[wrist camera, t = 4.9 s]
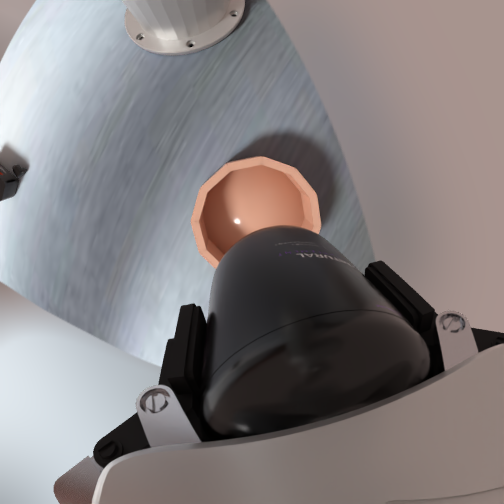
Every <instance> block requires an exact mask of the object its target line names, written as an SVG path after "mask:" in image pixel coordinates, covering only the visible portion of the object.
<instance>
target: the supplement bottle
mask: <svg viewBox="0 0 504 504" xmlns="http://www.w3.org/2000/svg"><path fill="white" fill-rule="evenodd" d="M432 377H434V365H433V359H432V356H431V352H430V350H429V347H428V345H427V343H426V342H425V340H424V339H423V338H422V336H421V335H420V334H419V333H418V331H417V330H416V329H415V327H414V326H413V325H412V324H411V323H410V322H409V321H408V320H407V319H406V318H405V317H404V315H403V314H402V313H401V312H400V311H399V310H398V309H397V308H396V307H395V306H394V305H393V304H392V303H391V302H390V301H389V300H388V299H387V298H386V297H385V296H384V295H383V294H382V293H381V292H380V291H379V290H378V289H377V288H376V287H375V286H374V285H373V284H372V283H371V282H370V281H369V280H368V279H367V278H366V277H365V276H364V275H363V274H362V273H361V272H360V271H359V270H358V269H357V268H356V267H355V266H354V265H353V264H352V263H351V262H350V261H349V260H348V259H347V258H346V257H345V256H344V255H343V254H342V253H341V252H340V251H339V250H337V249H336V248H335V247H334V246H333V245H332V244H331V243H329V242H328V241H327V240H326V239H325V238H323V237H322V236H320V235H319V234H317V233H315V232H313V231H311V230H308V229H306V228H302V227H298V226H292V225H277V226H270V227H266V228H262V229H259V230H256V231H254V232H252V233H250V234H248V235H246V236H244V237H243V238H241V239H240V240H239V241H237V242H236V243H235V244H234V245H233V246H231V248H230V249H229V250H228V251H227V252H226V253H225V255H224V256H223V257H222V259H221V261H220V262H219V264H218V266H217V268H216V271H215V274H214V277H213V281H212V287H211V293H210V301H209V310H208V319H207V328H206V337H205V347H204V358H203V368H202V379H201V391H200V406H199V411H200V412H199V423H200V429H201V433H202V436H203V439H204V441H205V442H211V441H220V440H228V439H235V438H242V437H249V436H255V435H261V434H266V433H271V432H276V431H281V430H286V429H290V428H294V427H299V426H303V425H307V424H311V423H314V422H318V421H322V420H325V419H329V418H332V417H335V416H339V415H342V414H345V413H348V412H351V411H354V410H357V409H360V408H362V407H365V406H368V405H371V404H373V403H376V402H379V401H381V400H384V399H386V398H389V397H391V396H393V395H396V394H398V393H400V392H403V391H405V390H407V389H410V388H412V387H414V386H416V385H418V384H420V383H422V382H424V381H426V380H428V379H430V378H432Z"/></svg>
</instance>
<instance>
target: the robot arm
mask: <svg viewBox="0 0 504 504" xmlns="http://www.w3.org/2000/svg"><path fill="white" fill-rule="evenodd" d="M122 1H123V3H124V4H125V5H126V7H127V9H126V13H125V28H126V31H127V33H128V35H129V37H130V38H131V39H132V40H133V41H134V43H135V44H137V45H138V46H139V47H141V48H142V49H144V50H146V51H148V52H151V53H155V54H159V55H169V56H175V55H185V54H190V53H195V52H198V51H201V50H204V49H207V48H209V47H211V46H213V45H215V44H217V43H218V42H220V41H221V40H223V39H224V38H226V37H227V36H228V35H229V34H230V33H231V32H232V31H233V30H234V29H235V28H236V26H237V25H238V24H239V22H240V20H241V18H242V16H243V13H244V7H245V0H122ZM232 16H236V17H232ZM142 38H143V39H142ZM141 39H142V40H141ZM190 45H194V46H193V47H189V46H190ZM365 277H366V278H367V279H368V280H369V281H370V282H371V283H372V284H373V285H374V286H375V287H376V288H377V289H378V290H379V291H380V292H381V293H382V294H383V295H384V296H385V297H386V298H387V299H388V300H389V301H390V302H391V303H392V304H393V305H394V306H395V307H396V308H397V309H398V310H399V311H400V312H401V313H402V314H403V315H404V317H405V318H406V319H407V320H408V321H409V322H410V323H411V324H412V325H413V326H414V327H415V329H416V330H417V331H418V333H419V334H420V335H421V336H422V338H423V339H424V340H425V342H426V343H427V345H428V347H429V350H430V352H431V356H432V359H433V365H434V377H432V378H430V379H428V380H426V381H424V382H422V383H420V384H418V385H416V386H414V387H412V388H410V389H407V390H405V391H403V392H400V393H398V394H396V395H393V396H391V397H389V398H386V399H384V400H381V401H379V402H376V403H373V404H371V405H368V406H365V407H362V408H360V409H357V410H354V411H351V412H348V413H345V414H342V415H339V416H335V417H332V418H329V419H325V420H322V421H318V422H314V423H311V424H307V425H303V426H299V427H294V428H290V429H286V430H281V431H276V432H271V433H266V434H261V435H255V436H249V437H242V438H235V439H228V440H220V441H211V442H205V441H204V439H203V436H202V433H201V429H200V423H199V412H200V411H199V406H200V391H201V379H202V368H203V358H204V347H205V337H206V328H207V323H206V320H205V317H204V314H203V312H202V309H201V307H200V306H197V307H196V305H195V304H189V305H183V306H181V308H180V313H179V317H178V322H177V327H176V332H175V337H174V338H173V339H169V340H168V342H167V345H166V350H165V354H164V359H163V364H162V369H161V374H160V379H159V384H158V385H154V386H151V387H148V388H147V389H145V390H143V391H142V392H141V393H140V394H139V396H138V398H137V400H136V409H137V413H136V414H134V415H133V416H132V417H130V418H129V419H128V420H126V421H125V422H124V423H122V424H121V425H119V426H118V427H117V428H116V429H114V430H113V431H111V432H110V433H108V434H107V435H106V436H105V437H103V438H102V439H100V440H99V441H98V442H97V444H96V445H95V447H94V451H93V456H92V457H91V458H90V457H89V456H87V457H86V458H84V459H83V460H82V461H81V462H79V463H78V464H77V465H76V466H74V467H73V468H72V469H71V470H69V471H68V472H66V473H65V474H64V475H62V476H61V477H60V478H59V479H57V481H56V482H55V484H54V494H55V497H56V498H57V500H58V502H59V503H60V504H504V333H500V332H494V331H488V330H482V329H476V328H471V327H470V324H469V322H468V320H467V318H466V317H465V316H464V315H463V314H461V313H459V312H456V311H445V312H442V313H440V314H439V315H438V314H436V312H435V310H434V309H433V308H432V307H431V306H430V305H429V304H428V303H427V302H426V301H425V300H424V299H423V298H422V297H421V296H420V295H419V294H418V293H417V292H416V291H415V290H414V289H413V288H411V287H410V286H409V285H408V284H407V283H406V282H405V281H404V280H403V279H402V278H401V277H400V276H399V275H397V274H396V273H395V272H394V271H393V270H392V269H391V268H390V267H389V266H387V265H386V264H385V263H384V262H383V261H377V262H373V263H370V264H369V265H368V267H367V268H366V269H365Z"/></svg>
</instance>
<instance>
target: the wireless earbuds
mask: <svg viewBox="0 0 504 504" xmlns="http://www.w3.org/2000/svg"><path fill="white" fill-rule="evenodd" d="M13 172H14V173H15V175H16V177H17V178H16V177H15V176H14V175H13V174H12V173H10V172H9V171H8V170H7V169H6V168H4V167H3V166H2V165H1V164H0V201H2V200H5V199H8V198H11V197H13V196H14V195H15V193H16V190H17V186H18V183H19V180H18V178H20V177H22V176H23V174H25V173H26V169H25V168H22V169H21V167H20V166H19V165H14V166H13Z"/></svg>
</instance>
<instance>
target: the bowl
mask: <svg viewBox="0 0 504 504" xmlns="http://www.w3.org/2000/svg"><path fill="white" fill-rule="evenodd" d="M191 225H192V229H193V232H194V236H195V240H196V243H197V247H198V250H199V253H200V254H201V255H202V256H203V257H204V258H205V259H206V260H207V261H208V262H209V263H210V264H211V265H212V266H213V267H214V268H215V269H216V268H217V266H218V264H219V262H220V261H221V259H222V257H223V256H224V255H225V253H226V252H227V251H228V250H229V249H230V248H231V246H233V245H234V244H235V243H236V242H237V241H239V240H240V239H241V238H243V237H244V236H246V235H248V234H250V233H252V232H254V231H256V230H259V229H262V228H266V227H270V226H277V225H292V226H298V227H302V228H306V229H308V230H311V231H313V232H315V233H317V234H319V231H320V229H321V220H320V212H319V205H318V198H317V195H316V192H315V191H314V190H313V189H312V187H311V186H310V185H309V184H308V182H307V181H306V180H305V179H304V178H303V176H302V175H301V174H300V173H299V171H298V170H297V169H296V168H294V167H292V166H289V165H286V164H283V163H281V162H278V161H275V160H272V159H269V158H266V157H263V156H254V157H249V158H244V159H239V160H234V161H230V162H227V163H225V164H224V165H223V166H222V167H221V168H220V169H219V170H218V171H217V172H215V173H214V174H213V175H212V176H211V177H210V178H209V179H208V180H207V181H206V182H205V183H204V184H203V185H202V186H201V188H200V190H199V193H198V197H197V200H196V204H195V207H194V211H193V214H192V218H191Z"/></svg>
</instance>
